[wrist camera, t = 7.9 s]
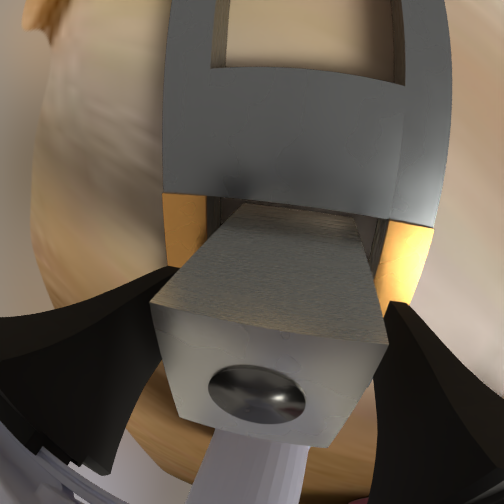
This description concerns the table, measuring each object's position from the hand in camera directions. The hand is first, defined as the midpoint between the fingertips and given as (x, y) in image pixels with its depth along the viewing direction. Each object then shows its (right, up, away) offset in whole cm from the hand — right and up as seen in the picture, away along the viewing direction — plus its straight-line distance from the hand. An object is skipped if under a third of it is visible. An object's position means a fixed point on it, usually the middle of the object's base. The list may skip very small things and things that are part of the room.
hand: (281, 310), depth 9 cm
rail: (+1, +6, 0) cm, 6 cm away
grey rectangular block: (+1, +2, +2) cm, 3 cm away
